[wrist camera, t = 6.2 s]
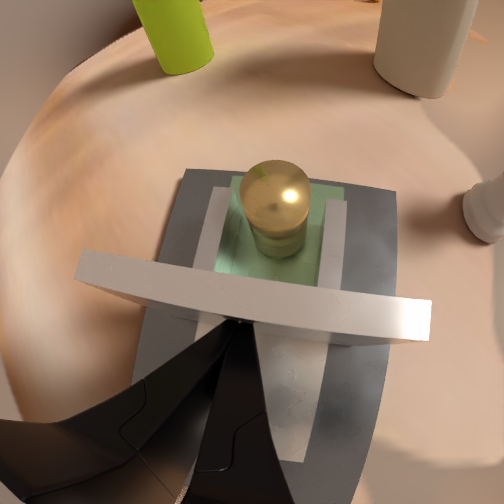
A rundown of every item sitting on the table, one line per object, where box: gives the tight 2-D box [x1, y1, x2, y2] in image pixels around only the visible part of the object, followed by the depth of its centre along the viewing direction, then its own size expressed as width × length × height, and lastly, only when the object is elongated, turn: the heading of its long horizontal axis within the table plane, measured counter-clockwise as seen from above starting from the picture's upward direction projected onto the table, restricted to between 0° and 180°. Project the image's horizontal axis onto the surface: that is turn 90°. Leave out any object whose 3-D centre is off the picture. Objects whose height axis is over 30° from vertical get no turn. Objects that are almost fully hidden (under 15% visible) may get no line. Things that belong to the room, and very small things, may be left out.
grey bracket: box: [74, 187, 431, 347], centre depth 12 cm, size 6×10×8 cm, turn 79°
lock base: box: [131, 160, 397, 504], centre depth 13 cm, size 20×14×6 cm
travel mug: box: [373, 0, 479, 99], centre depth 13 cm, size 8×8×18 cm
